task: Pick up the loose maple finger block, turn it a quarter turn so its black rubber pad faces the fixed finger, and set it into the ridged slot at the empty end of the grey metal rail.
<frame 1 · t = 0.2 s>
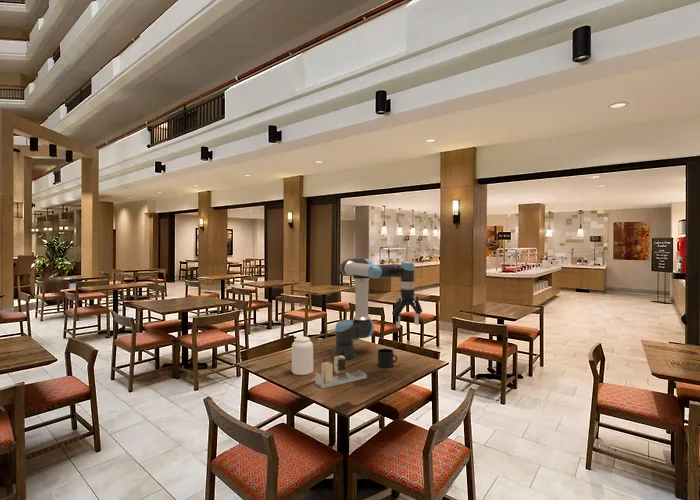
hand: (407, 326, 212), 28 cm above the table, fingers open, 13 cm apart
mug: (387, 365, 228), on the table
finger: (339, 372, 217), on the table
white jar: (302, 372, 217), on the table
rail: (341, 381, 202), on the table
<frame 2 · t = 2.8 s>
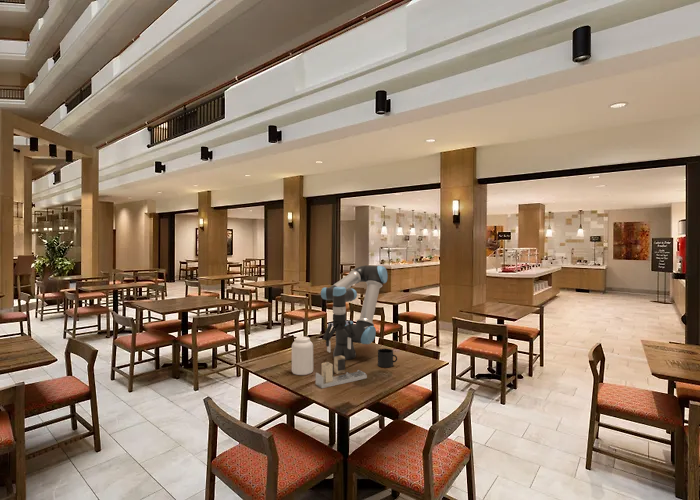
hand: (339, 350, 216), 13 cm above the table, fingers open, 13 cm apart
nothing on the table moved.
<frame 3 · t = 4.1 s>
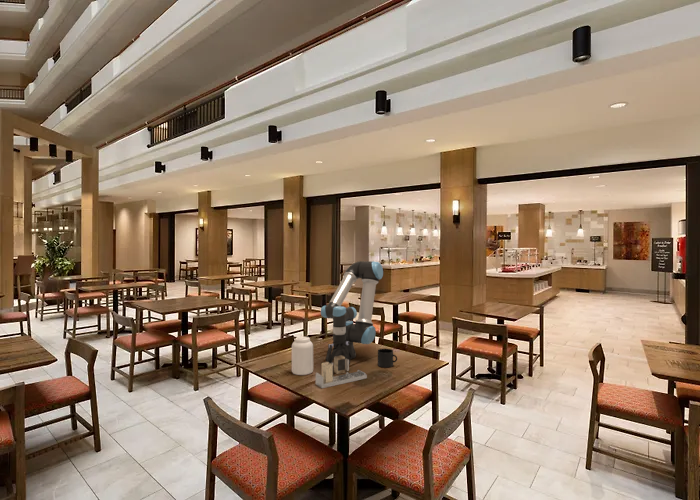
hand: (339, 371, 217), 0 cm above the table, fingers open, 10 cm apart
nothing on the table moved.
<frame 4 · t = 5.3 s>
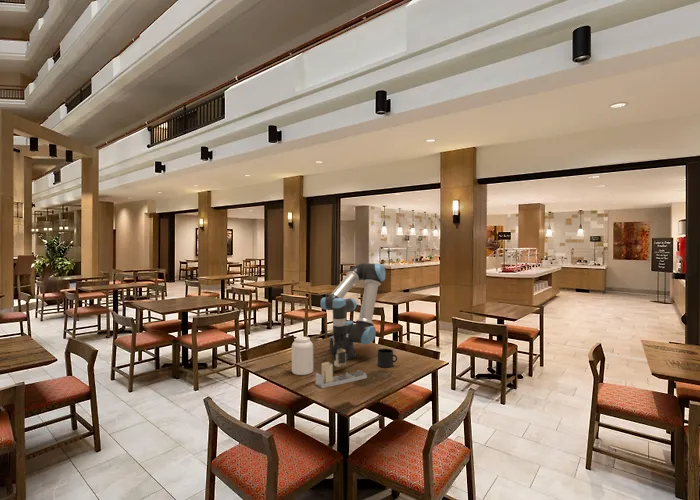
hand: (340, 364, 217), 4 cm above the table, fingers closed on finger, 5 cm apart
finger: (340, 365, 217), point 4 cm above the table, touching gripper
everything else where it was.
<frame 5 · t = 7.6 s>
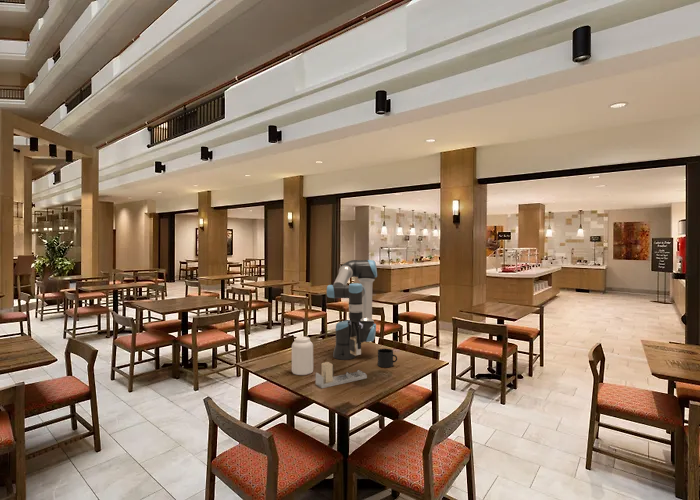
hand: (355, 353, 207), 14 cm above the table, fingers closed on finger, 5 cm apart
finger: (355, 353, 207), point 14 cm above the table, touching gripper
everything else where it was.
when the fingers open (3 cm above the table, at t = 9.7 s): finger stays where it is, resting on rail.
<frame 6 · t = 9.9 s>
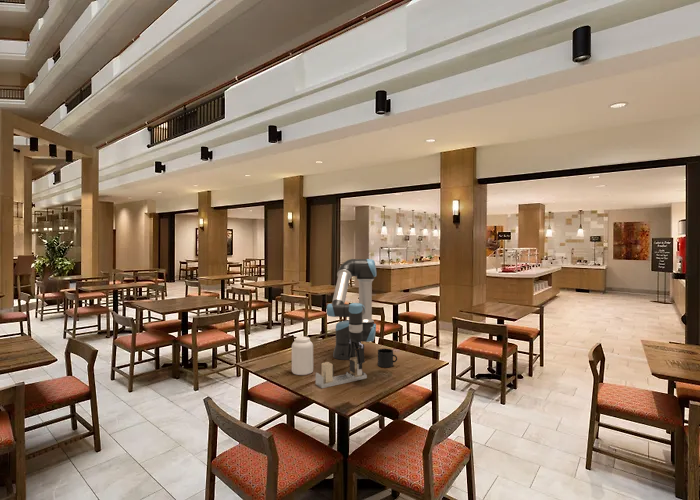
hand: (355, 372, 207), 3 cm above the table, fingers open, 7 cm apart
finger: (355, 374, 207), point 2 cm above the table, touching rail
everything else where it was.
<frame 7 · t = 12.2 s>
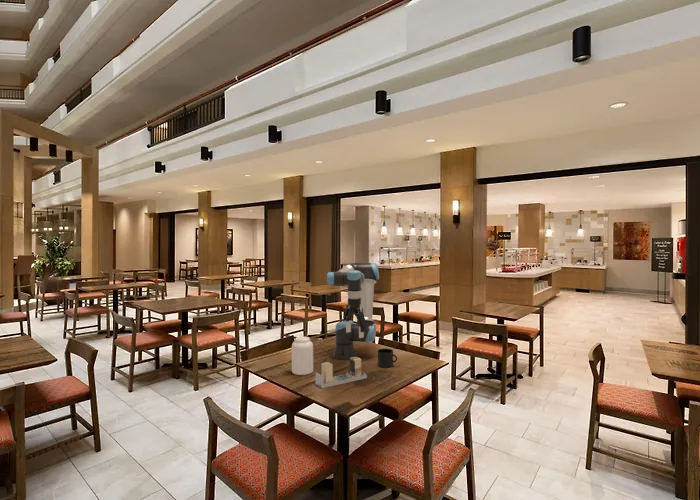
hand: (354, 334, 213), 23 cm above the table, fingers open, 13 cm apart
nothing on the table moved.
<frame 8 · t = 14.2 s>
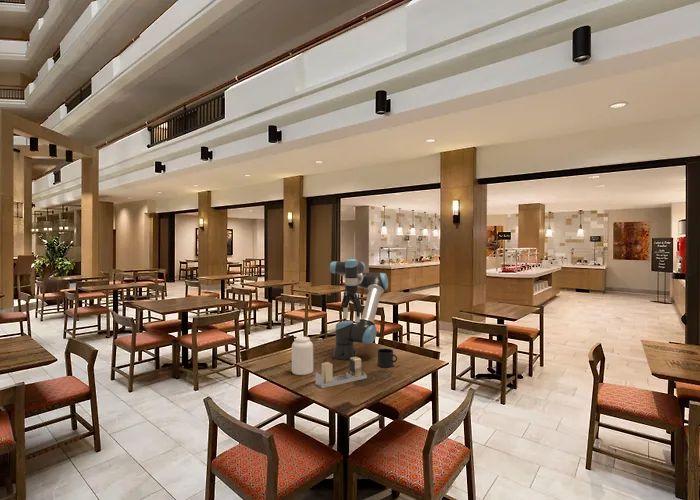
hand: (351, 320, 224), 29 cm above the table, fingers open, 13 cm apart
nothing on the table moved.
at the end: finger 0.0 cm from the target spot on the rail, point 2.0 cm above the rail's base; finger tilted 0°; the gripper is holding nothing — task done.
